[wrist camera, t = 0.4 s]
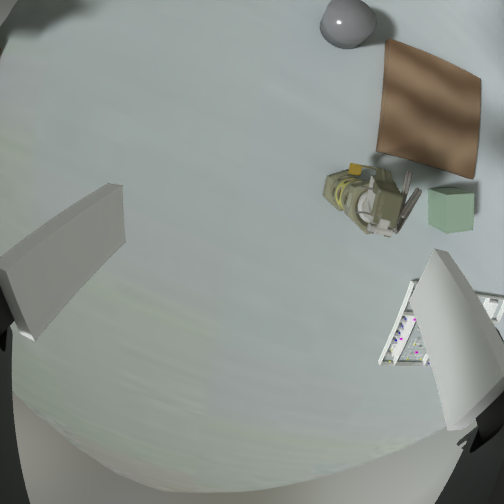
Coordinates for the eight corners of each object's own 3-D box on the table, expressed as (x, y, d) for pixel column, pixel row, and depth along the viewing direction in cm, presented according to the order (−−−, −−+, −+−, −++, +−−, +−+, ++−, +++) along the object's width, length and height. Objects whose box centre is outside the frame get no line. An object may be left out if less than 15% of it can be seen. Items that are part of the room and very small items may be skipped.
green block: (427, 189, 35) (446, 194, 30) (454, 187, 35) (474, 193, 30) (428, 223, 37) (445, 233, 32) (454, 220, 36) (472, 229, 32)
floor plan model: (409, 278, 40) (414, 284, 38) (504, 293, 40) (510, 298, 39) (377, 359, 45) (380, 366, 43) (473, 359, 45) (477, 364, 44)
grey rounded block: (321, 7, 28) (328, -9, 23) (364, 18, 28) (376, 4, 23) (318, 43, 30) (325, 29, 25) (363, 54, 30) (376, 42, 25)
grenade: (316, 204, 37) (347, 238, 23) (326, 152, 34) (366, 154, 20) (368, 215, 37) (421, 253, 23) (379, 166, 35) (441, 179, 20)
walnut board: (385, 41, 29) (389, 38, 27) (474, 80, 29) (480, 78, 27) (375, 151, 34) (380, 151, 33) (467, 178, 34) (473, 179, 33)
